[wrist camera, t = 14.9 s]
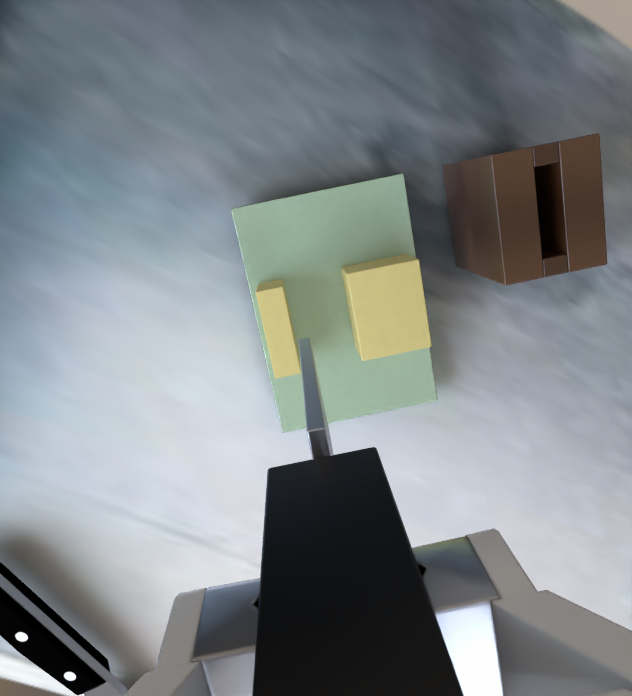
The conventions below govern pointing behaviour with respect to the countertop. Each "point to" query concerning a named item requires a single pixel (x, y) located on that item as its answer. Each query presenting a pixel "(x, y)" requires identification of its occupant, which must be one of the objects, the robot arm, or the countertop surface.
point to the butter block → (387, 306)
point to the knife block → (528, 211)
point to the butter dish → (333, 293)
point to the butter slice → (278, 328)
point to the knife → (341, 579)
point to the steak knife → (52, 641)
